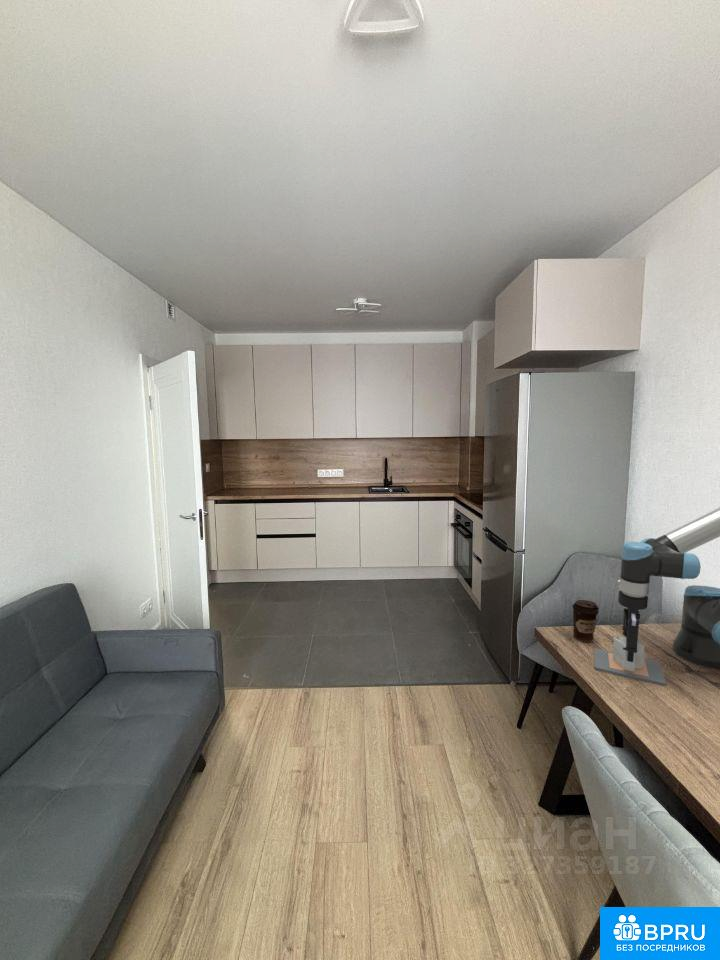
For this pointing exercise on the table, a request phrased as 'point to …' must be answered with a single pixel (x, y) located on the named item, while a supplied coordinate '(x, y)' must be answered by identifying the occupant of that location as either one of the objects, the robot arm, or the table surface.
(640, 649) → the skincare box
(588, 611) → the coffee cup
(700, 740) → the table surface
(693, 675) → the table surface
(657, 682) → the card
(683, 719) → the table surface
